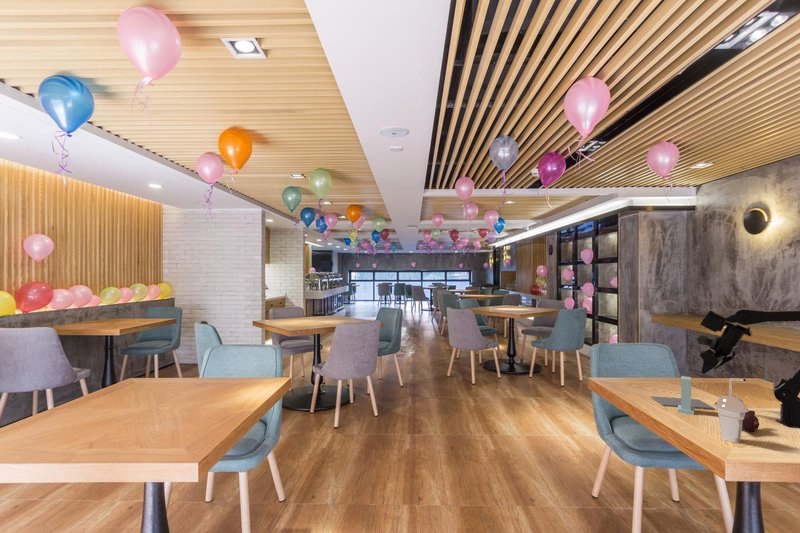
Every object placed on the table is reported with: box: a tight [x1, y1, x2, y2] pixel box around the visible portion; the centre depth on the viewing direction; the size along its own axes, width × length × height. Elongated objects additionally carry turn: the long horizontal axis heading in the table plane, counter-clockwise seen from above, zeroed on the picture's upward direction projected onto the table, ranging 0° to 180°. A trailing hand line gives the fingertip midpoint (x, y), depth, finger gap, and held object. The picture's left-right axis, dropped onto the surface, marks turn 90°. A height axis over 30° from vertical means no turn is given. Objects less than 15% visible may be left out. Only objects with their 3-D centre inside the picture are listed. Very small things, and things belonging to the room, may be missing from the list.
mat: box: [650, 395, 716, 411], centre depth 170 cm, size 12×18×1 cm, turn 79°
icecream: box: [742, 409, 760, 433], centre depth 141 cm, size 7×7×15 cm
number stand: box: [677, 375, 695, 415], centre depth 160 cm, size 5×7×12 cm
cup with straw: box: [713, 377, 749, 444], centre depth 132 cm, size 8×9×20 cm
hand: (708, 370), depth 166 cm, fingers open, 9 cm apart
